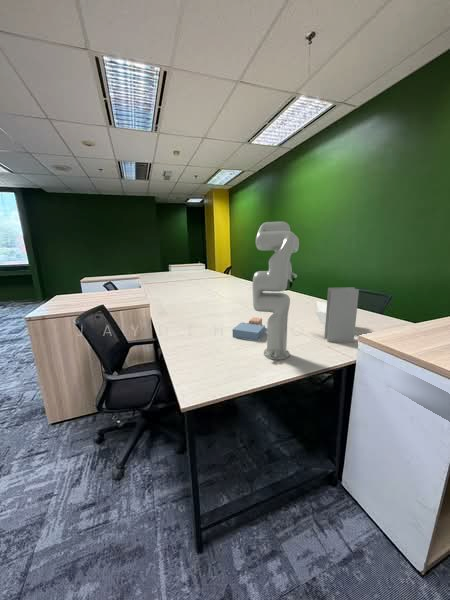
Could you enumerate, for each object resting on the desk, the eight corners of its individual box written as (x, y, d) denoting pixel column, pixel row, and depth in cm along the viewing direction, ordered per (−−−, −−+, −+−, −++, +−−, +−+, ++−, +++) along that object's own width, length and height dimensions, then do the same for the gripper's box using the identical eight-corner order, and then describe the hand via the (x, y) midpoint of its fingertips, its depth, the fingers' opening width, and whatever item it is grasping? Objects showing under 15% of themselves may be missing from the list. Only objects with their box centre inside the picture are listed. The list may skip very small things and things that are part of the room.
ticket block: (257, 341, 139) (258, 332, 138) (232, 337, 146) (232, 328, 145) (265, 332, 152) (265, 324, 151) (241, 329, 159) (241, 321, 158)
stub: (257, 331, 154) (257, 321, 153) (248, 329, 157) (248, 320, 155) (261, 326, 162) (262, 317, 161) (253, 325, 165) (253, 316, 163)
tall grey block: (349, 338, 140) (354, 287, 133) (353, 342, 134) (359, 289, 128) (324, 338, 141) (328, 287, 135) (327, 341, 136) (331, 289, 129)
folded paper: (341, 306, 144) (356, 304, 154) (308, 299, 164) (323, 298, 173) (337, 333, 147) (353, 330, 157) (305, 323, 167) (321, 321, 176)
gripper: (268, 260, 152) (268, 287, 156) (296, 261, 144) (295, 289, 148) (272, 260, 158) (271, 285, 162) (299, 260, 150) (297, 287, 154)
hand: (282, 287), depth 155 cm, fingers open, 9 cm apart
